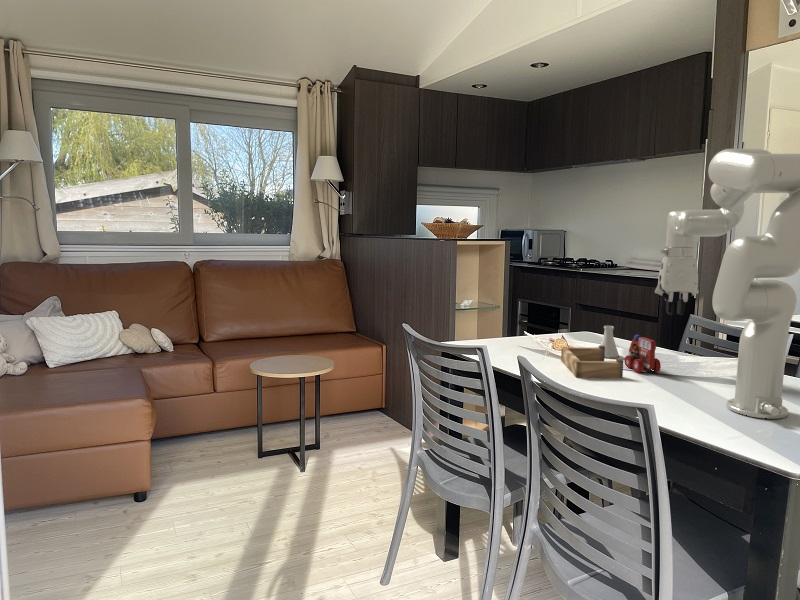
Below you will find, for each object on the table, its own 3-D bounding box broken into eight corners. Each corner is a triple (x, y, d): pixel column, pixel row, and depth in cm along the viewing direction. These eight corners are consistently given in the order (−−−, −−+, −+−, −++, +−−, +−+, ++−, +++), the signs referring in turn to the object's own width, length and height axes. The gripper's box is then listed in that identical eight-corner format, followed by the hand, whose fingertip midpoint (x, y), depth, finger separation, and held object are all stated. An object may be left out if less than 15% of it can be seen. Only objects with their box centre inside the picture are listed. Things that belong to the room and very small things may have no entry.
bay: (622, 377, 168) (623, 360, 168) (576, 377, 169) (576, 359, 168) (602, 361, 187) (603, 345, 186) (561, 360, 188) (561, 345, 187)
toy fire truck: (641, 364, 184) (643, 331, 182) (663, 374, 172) (665, 340, 170) (620, 364, 183) (622, 332, 181) (641, 375, 171) (643, 341, 169)
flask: (596, 357, 192) (597, 327, 190) (595, 352, 199) (597, 324, 197) (619, 359, 190) (621, 329, 188) (618, 354, 197) (619, 325, 195)
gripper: (656, 253, 168) (652, 316, 171) (713, 253, 168) (708, 316, 170) (646, 252, 176) (643, 312, 178) (701, 252, 175) (696, 312, 178)
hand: (675, 314), depth 174 cm, fingers closed
